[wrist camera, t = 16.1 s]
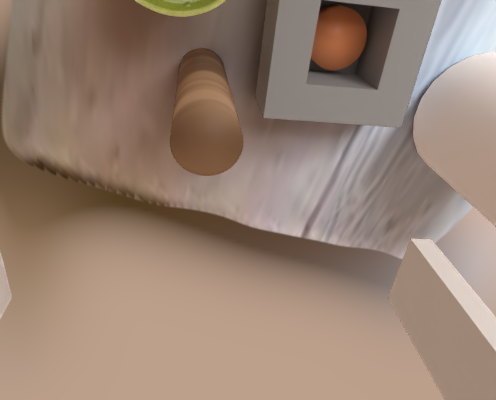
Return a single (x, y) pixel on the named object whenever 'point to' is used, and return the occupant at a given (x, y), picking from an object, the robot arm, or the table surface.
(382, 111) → the box
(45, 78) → the table surface
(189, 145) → the dowel
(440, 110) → the can
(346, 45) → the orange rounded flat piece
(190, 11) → the plant pot
